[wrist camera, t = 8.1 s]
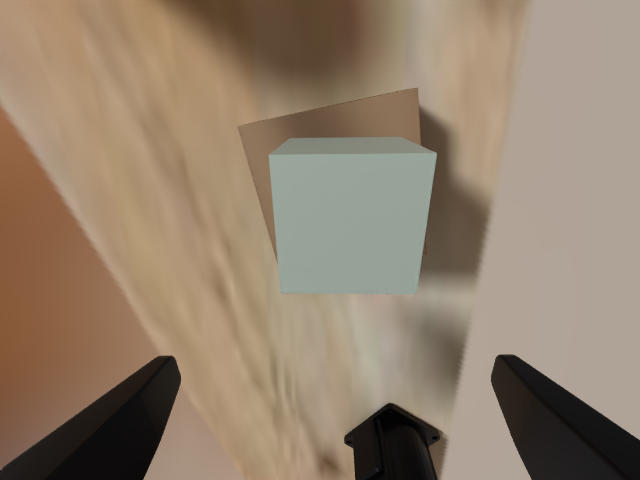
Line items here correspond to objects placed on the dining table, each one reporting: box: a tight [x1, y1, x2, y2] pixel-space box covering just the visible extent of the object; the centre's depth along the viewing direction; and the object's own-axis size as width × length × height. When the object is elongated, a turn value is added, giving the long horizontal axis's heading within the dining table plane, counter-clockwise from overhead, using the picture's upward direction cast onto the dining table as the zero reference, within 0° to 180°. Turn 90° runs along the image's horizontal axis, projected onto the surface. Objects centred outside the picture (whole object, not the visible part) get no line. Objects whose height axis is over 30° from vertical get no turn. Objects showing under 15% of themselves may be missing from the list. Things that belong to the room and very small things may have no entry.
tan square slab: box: [237, 88, 426, 263], centre depth 16 cm, size 8×8×4 cm
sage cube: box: [269, 137, 437, 294], centre depth 12 cm, size 5×5×5 cm
